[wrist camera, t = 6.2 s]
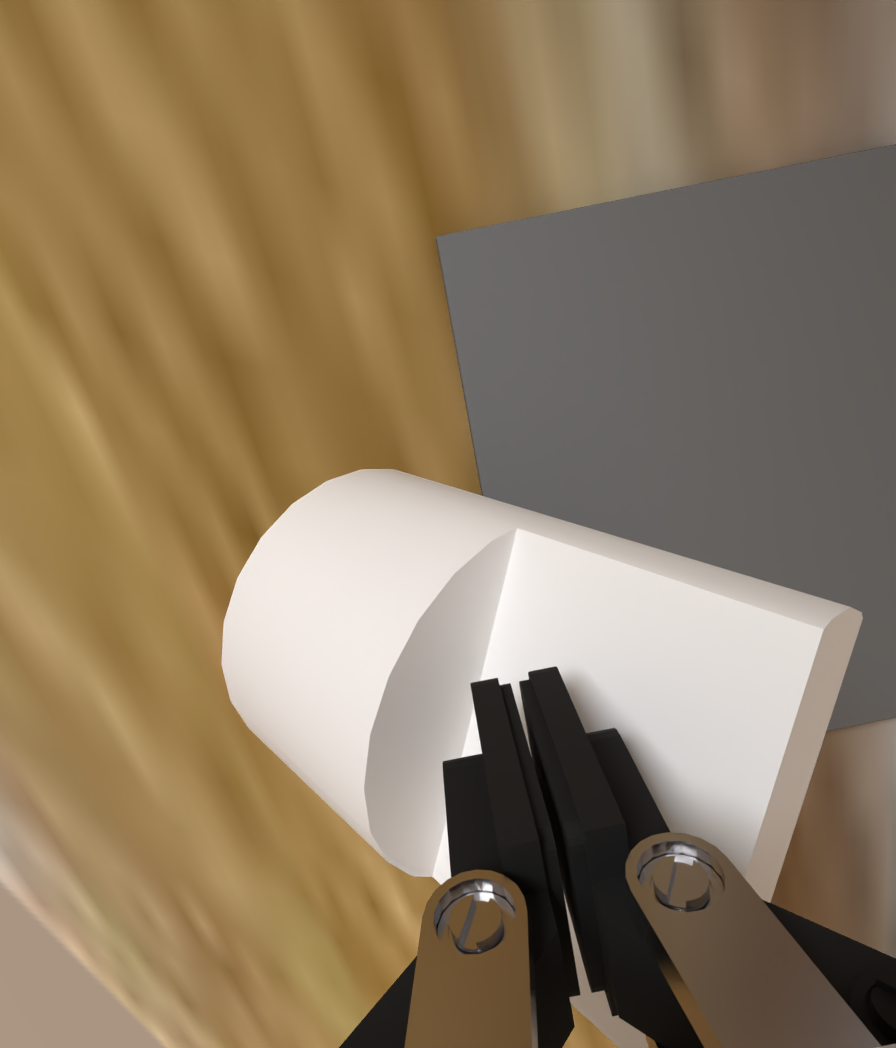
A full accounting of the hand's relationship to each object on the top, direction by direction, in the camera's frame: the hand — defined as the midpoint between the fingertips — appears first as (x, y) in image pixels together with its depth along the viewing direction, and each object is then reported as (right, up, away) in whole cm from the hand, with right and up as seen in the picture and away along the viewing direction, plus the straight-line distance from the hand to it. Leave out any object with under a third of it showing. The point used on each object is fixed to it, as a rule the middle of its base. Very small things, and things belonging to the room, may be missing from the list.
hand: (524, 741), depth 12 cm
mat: (+10, +5, +10) cm, 15 cm away
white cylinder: (-4, +1, +8) cm, 9 cm away
